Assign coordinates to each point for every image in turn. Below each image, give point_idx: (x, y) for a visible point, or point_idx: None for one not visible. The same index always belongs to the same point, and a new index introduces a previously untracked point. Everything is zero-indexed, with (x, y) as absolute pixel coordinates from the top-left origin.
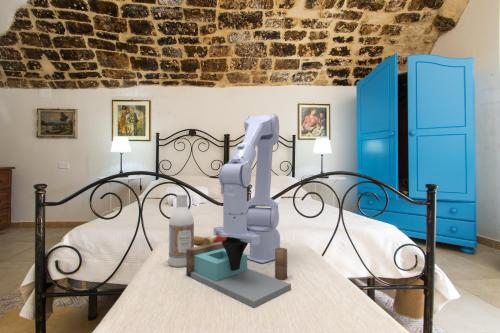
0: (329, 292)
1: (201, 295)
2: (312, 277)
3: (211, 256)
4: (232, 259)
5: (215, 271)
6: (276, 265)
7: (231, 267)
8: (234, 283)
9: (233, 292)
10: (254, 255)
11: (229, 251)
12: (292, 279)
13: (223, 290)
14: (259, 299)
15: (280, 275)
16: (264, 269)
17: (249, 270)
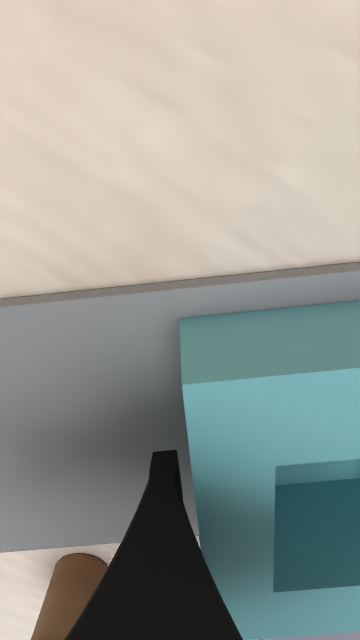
0: None
1: (123, 162)
2: (16, 633)
3: None
4: (128, 531)
5: (191, 344)
6: (58, 635)
7: (161, 465)
8: (81, 383)
9: None
10: (332, 636)
11: (139, 622)
12: (39, 585)
13: (69, 296)
14: None
15: (55, 580)
16: None
17: (194, 528)
